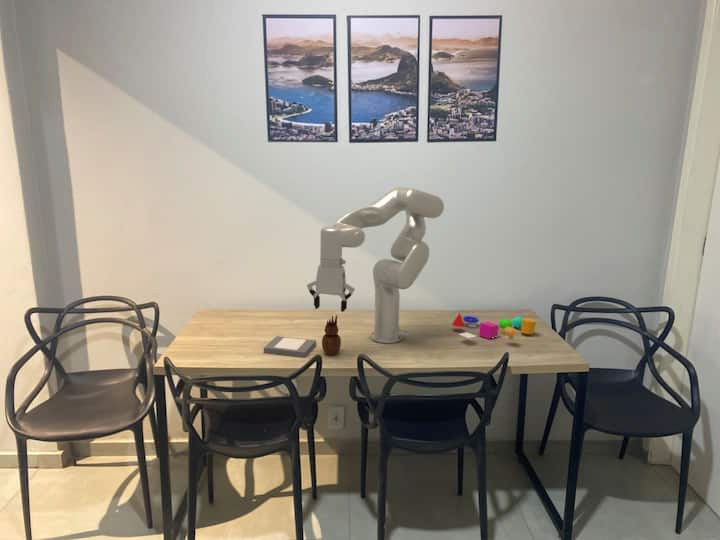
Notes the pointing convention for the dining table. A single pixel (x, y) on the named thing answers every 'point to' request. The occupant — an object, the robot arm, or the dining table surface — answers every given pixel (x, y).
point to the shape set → (497, 326)
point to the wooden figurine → (331, 338)
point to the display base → (290, 346)
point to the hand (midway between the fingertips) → (330, 309)
